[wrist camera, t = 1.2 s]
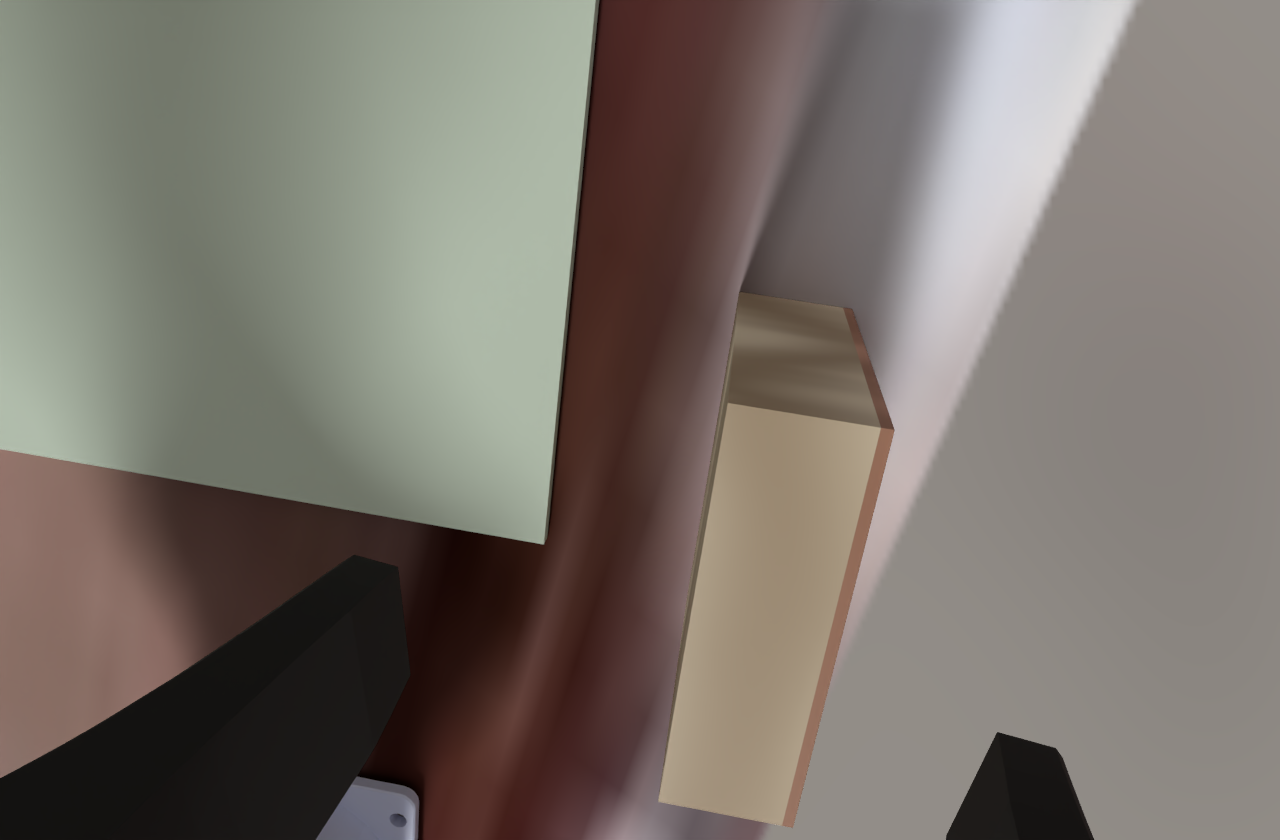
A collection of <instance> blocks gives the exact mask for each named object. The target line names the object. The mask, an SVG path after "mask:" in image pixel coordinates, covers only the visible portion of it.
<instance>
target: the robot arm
mask: <svg viewBox="0 0 1280 840" xmlns="http://www.w3.org/2000/svg"><path fill="white" fill-rule="evenodd" d="M410 675H411V674H410V666H409V657H408V649H407V640H406V632H405V623H404V615H403V606H402V598H401V589H400V581H399V572H398V567H396V566H393V565H389V564H385V563H382V562H378V561H375V560H371V559H367V558H364V557H360V556H356V555H353V556H351V557H350V558H348V559H347V560H345V561H344V562H342V563H341V564H339V565H338V566H336V567H335V568H333V569H332V570H331V571H329V572H328V573H326V574H325V575H323V576H322V577H320V578H319V579H318V580H316V581H315V582H313V583H312V584H310V585H309V586H308V587H306V588H305V589H303V590H302V591H300V592H299V593H298V594H296V595H295V596H293V597H292V598H291V599H289V600H288V601H286V602H285V603H283V604H282V605H281V606H279V607H278V608H276V609H275V610H273V611H272V612H270V613H269V614H268V615H266V616H265V617H263V618H262V619H260V620H259V621H258V622H256V623H255V624H253V625H252V626H250V627H249V628H247V629H246V630H245V631H243V632H242V633H240V634H239V635H237V636H236V637H234V638H233V639H231V640H230V641H228V642H227V643H225V644H224V645H222V646H221V647H219V648H218V649H216V650H215V651H213V652H212V653H210V654H209V655H207V656H206V657H204V658H203V659H201V660H200V661H198V662H197V663H195V664H194V665H192V666H191V667H189V668H188V669H186V670H185V671H183V672H182V673H180V674H179V675H177V676H175V677H174V678H172V679H171V680H169V681H168V682H166V683H164V684H163V685H161V686H159V687H158V688H156V689H155V690H153V691H151V692H150V693H148V694H146V695H145V696H143V697H142V698H140V699H138V700H137V701H135V702H134V703H132V704H130V705H129V706H127V707H125V708H124V709H122V710H121V711H119V712H117V713H116V714H114V715H112V716H111V717H109V718H108V719H106V720H104V721H103V722H101V723H99V724H98V725H96V726H94V727H92V728H91V729H89V730H87V731H86V732H84V733H82V734H80V735H79V736H77V737H75V738H73V739H72V740H70V741H68V742H66V743H65V744H63V745H61V746H59V747H57V748H56V749H54V750H52V751H50V752H48V753H47V754H45V755H43V756H41V757H39V758H37V759H36V760H34V761H32V762H30V763H28V764H26V765H24V766H22V767H21V768H19V769H17V770H15V771H13V772H11V773H9V774H8V775H6V776H4V777H2V778H0V840H418V821H419V798H418V796H417V794H416V793H415V792H414V791H413V790H412V789H410V788H409V787H406V786H402V785H397V784H392V783H387V782H382V781H377V780H372V779H367V778H362V777H357V775H358V774H359V772H360V770H361V769H362V767H363V766H364V764H365V762H366V761H367V759H368V758H369V756H370V755H371V753H372V751H373V750H374V748H375V746H376V744H377V742H378V740H379V738H380V736H381V734H382V732H383V730H384V728H385V726H386V724H387V722H388V720H389V718H390V716H391V714H392V712H393V710H394V708H395V706H396V704H397V702H398V700H399V698H400V696H401V694H402V691H403V689H404V687H405V685H406V683H407V681H408V679H409V677H410ZM398 814H400V815H403V816H404V817H402V816H400V815H398ZM946 840H1094V838H1093V836H1092V833H1091V831H1090V828H1089V826H1088V823H1087V821H1086V818H1085V816H1084V813H1083V811H1082V808H1081V806H1080V803H1079V800H1078V798H1077V795H1076V792H1075V790H1074V787H1073V785H1072V782H1071V779H1070V777H1069V774H1068V771H1067V768H1066V766H1065V763H1064V760H1063V758H1062V756H1061V755H1060V753H1059V752H1058V751H1057V749H1056V748H1053V747H1050V746H1046V745H1042V744H1039V743H1035V742H1031V741H1028V740H1024V739H1021V738H1017V737H1013V736H1009V735H1006V734H1002V733H999V732H997V734H996V736H995V738H994V740H993V742H992V744H991V746H990V748H989V750H988V752H987V754H986V756H985V758H984V760H983V762H982V764H981V766H980V768H979V770H978V772H977V774H976V777H975V779H974V780H973V783H972V784H971V787H970V789H969V791H968V793H967V795H966V797H965V799H964V801H963V803H962V805H961V807H960V809H959V811H958V813H957V815H956V817H955V819H954V821H953V823H952V825H951V827H950V829H949V831H948V833H947V836H946Z"/></svg>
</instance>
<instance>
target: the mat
mask: <svg viewBox="0 0 1280 840" xmlns="http://www.w3.org/2000/svg"><path fill="white" fill-rule="evenodd" d="M598 7H599V0H0V449H3V450H9V451H15V452H20V453H26V454H32V455H38V456H43V457H49V458H55V459H60V460H66V461H72V462H77V463H83V464H89V465H94V466H100V467H106V468H112V469H117V470H123V471H129V472H134V473H140V474H146V475H151V476H157V477H163V478H168V479H174V480H180V481H186V482H191V483H197V484H203V485H208V486H214V487H220V488H225V489H231V490H237V491H242V492H248V493H254V494H260V495H265V496H271V497H277V498H282V499H288V500H294V501H299V502H305V503H311V504H316V505H322V506H328V507H334V508H339V509H345V510H351V511H356V512H362V513H368V514H373V515H379V516H385V517H390V518H396V519H402V520H408V521H413V522H419V523H425V524H430V525H436V526H442V527H447V528H453V529H459V530H464V531H470V532H476V533H481V534H487V535H493V536H499V537H504V538H510V539H516V540H521V541H527V542H533V543H538V544H544V543H545V541H546V539H547V536H548V525H549V515H550V504H551V494H552V484H553V473H554V463H555V453H556V442H557V432H558V422H559V411H560V401H561V391H562V380H563V370H564V360H565V349H566V339H567V328H568V318H569V308H570V297H571V287H572V277H573V266H574V256H575V246H576V235H577V225H578V215H579V204H580V194H581V183H582V173H583V163H584V152H585V142H586V132H587V121H588V111H589V101H590V90H591V80H592V70H593V59H594V49H595V39H596V28H597V18H598Z"/></svg>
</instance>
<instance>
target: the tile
mask: <svg viewBox="0 0 1280 840" xmlns="http://www.w3.org/2000/svg"><path fill="white" fill-rule="evenodd" d="M893 434H894V427H893V424H892V421H891V418H890V416H889V413H888V410H887V407H886V404H885V401H884V398H883V396H882V393H881V390H880V387H879V384H878V381H877V379H876V376H875V373H874V370H873V367H872V364H871V361H870V359H869V356H868V353H867V350H866V347H865V344H864V342H863V339H862V336H861V333H860V330H859V327H858V324H857V322H856V319H855V316H854V313H853V310H852V309H849V308H842V307H836V306H829V305H823V304H816V303H809V302H803V301H796V300H790V299H783V298H777V297H770V296H764V295H757V294H751V293H744V292H739V297H738V303H737V308H736V314H735V320H734V326H733V332H732V338H731V343H730V349H729V355H728V361H727V367H726V373H725V379H724V384H723V390H722V396H721V402H720V408H719V414H718V419H717V425H716V431H715V437H714V443H713V449H712V455H711V460H710V466H709V472H708V478H707V484H706V490H705V495H704V501H703V507H702V513H701V519H700V525H699V531H698V536H697V542H696V548H695V554H694V560H693V566H692V571H691V577H690V583H689V589H688V595H687V602H686V609H685V616H684V623H683V630H682V637H681V644H680V651H679V658H678V666H677V673H676V680H675V687H674V694H673V701H672V708H671V715H670V722H669V729H668V736H667V743H666V750H665V757H664V764H663V771H662V778H661V786H660V793H659V800H658V802H663V803H668V804H673V805H678V806H683V807H689V808H694V809H699V810H704V811H709V812H714V813H719V814H725V815H730V816H735V817H740V818H745V819H750V820H755V821H760V822H766V823H771V824H776V825H781V826H787V827H793V825H794V821H795V817H796V814H797V810H798V806H799V802H800V798H801V794H802V790H803V786H804V782H805V779H806V775H807V771H808V767H809V763H810V759H811V755H812V751H813V747H814V743H815V739H816V735H817V732H818V728H819V724H820V720H821V716H822V712H823V708H824V704H825V700H826V696H827V692H828V689H829V685H830V681H831V677H832V673H833V669H834V665H835V661H836V657H837V653H838V649H839V645H840V642H841V638H842V634H843V630H844V626H845V622H846V618H847V614H848V610H849V606H850V602H851V599H852V595H853V591H854V587H855V583H856V579H857V575H858V571H859V567H860V563H861V559H862V556H863V552H864V548H865V544H866V540H867V536H868V532H869V528H870V524H871V520H872V516H873V512H874V509H875V505H876V501H877V497H878V493H879V489H880V485H881V481H882V477H883V473H884V469H885V466H886V462H887V458H888V454H889V450H890V446H891V442H892V438H893Z"/></svg>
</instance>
